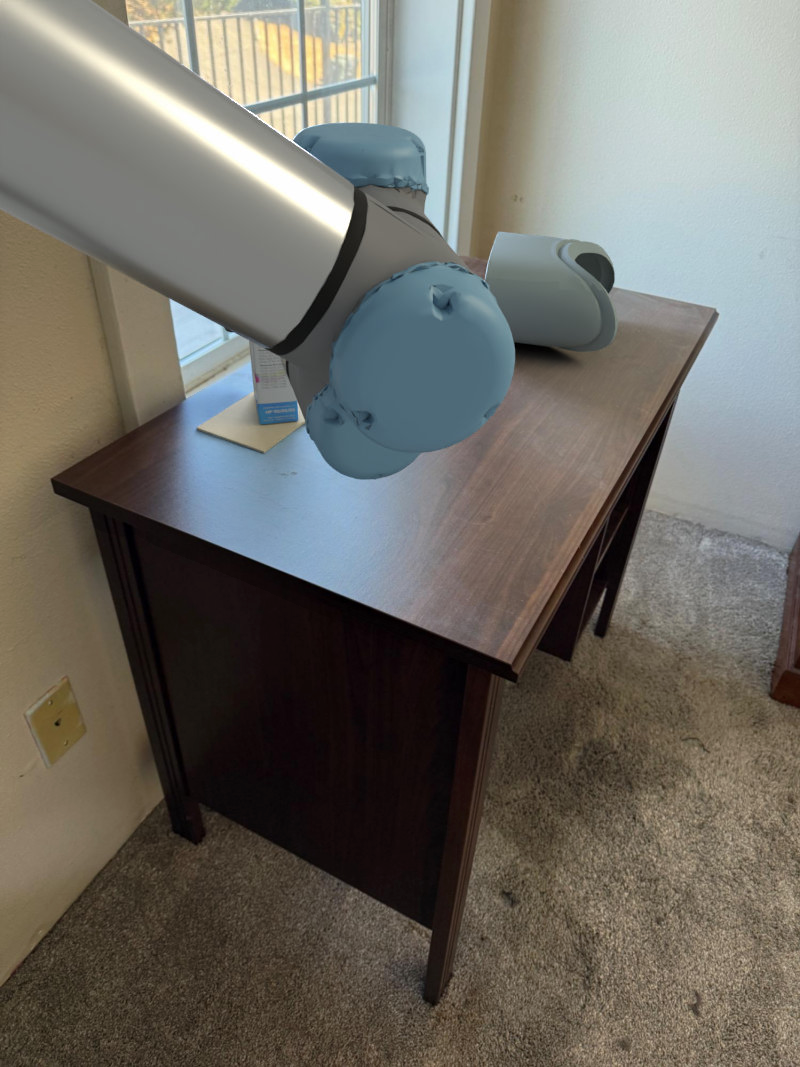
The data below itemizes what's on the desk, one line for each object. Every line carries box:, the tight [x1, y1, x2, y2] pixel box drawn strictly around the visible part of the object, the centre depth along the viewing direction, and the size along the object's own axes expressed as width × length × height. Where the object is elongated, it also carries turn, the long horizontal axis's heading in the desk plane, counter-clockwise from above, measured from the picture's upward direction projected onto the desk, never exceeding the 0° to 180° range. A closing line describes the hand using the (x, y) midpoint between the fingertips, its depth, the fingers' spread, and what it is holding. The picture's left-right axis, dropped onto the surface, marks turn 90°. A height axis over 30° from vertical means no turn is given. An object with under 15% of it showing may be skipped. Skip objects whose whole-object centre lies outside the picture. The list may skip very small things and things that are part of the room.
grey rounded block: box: [484, 231, 619, 353], centre depth 111 cm, size 22×19×13 cm
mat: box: [195, 390, 306, 454], centre depth 93 cm, size 18×10×1 cm, turn 151°
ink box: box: [248, 340, 298, 425], centre depth 89 cm, size 8×5×15 cm, turn 14°
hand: (276, 247), depth 72 cm, fingers open, 13 cm apart
